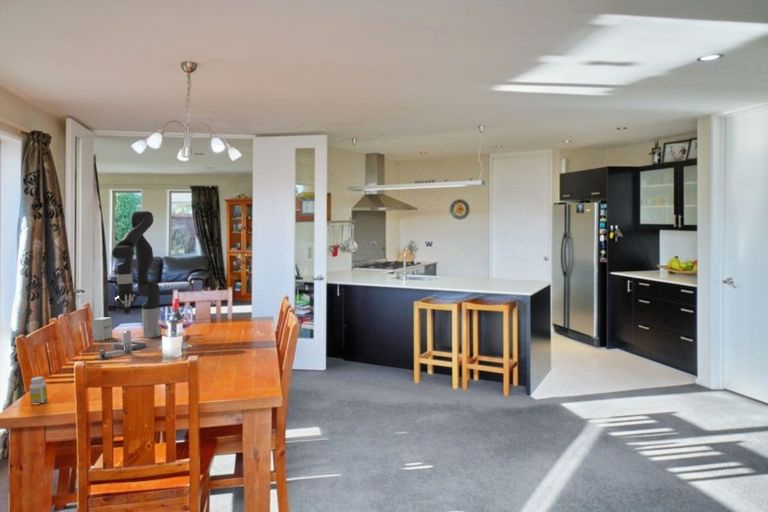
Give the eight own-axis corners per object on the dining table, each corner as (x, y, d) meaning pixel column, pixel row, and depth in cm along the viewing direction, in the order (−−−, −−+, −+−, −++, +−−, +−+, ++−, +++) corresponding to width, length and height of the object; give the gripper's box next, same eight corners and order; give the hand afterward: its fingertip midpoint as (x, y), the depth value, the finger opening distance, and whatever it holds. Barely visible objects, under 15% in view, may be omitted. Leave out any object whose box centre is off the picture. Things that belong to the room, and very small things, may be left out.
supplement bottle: (43, 399, 199) (42, 375, 199) (50, 402, 196) (48, 377, 195) (28, 403, 195) (26, 378, 194) (34, 406, 192) (32, 381, 191)
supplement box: (103, 340, 299) (102, 319, 298) (93, 340, 301) (91, 319, 300) (113, 338, 306) (111, 317, 306) (102, 337, 308) (101, 317, 307)
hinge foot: (104, 355, 264) (104, 355, 264) (112, 357, 262) (112, 356, 262) (93, 358, 259) (93, 358, 259) (101, 360, 256) (101, 359, 256)
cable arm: (100, 357, 258) (99, 335, 257) (99, 356, 261) (98, 334, 260) (132, 353, 267) (131, 331, 266) (131, 351, 270) (129, 330, 269)
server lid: (128, 344, 288) (128, 340, 288) (146, 346, 283) (145, 342, 282) (114, 348, 280) (113, 344, 280) (131, 350, 274) (131, 346, 274)
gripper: (131, 280, 286) (133, 311, 288) (109, 283, 275) (111, 315, 276) (140, 281, 283) (142, 312, 284) (117, 284, 271) (119, 316, 272)
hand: (126, 313), depth 280 cm, fingers closed
